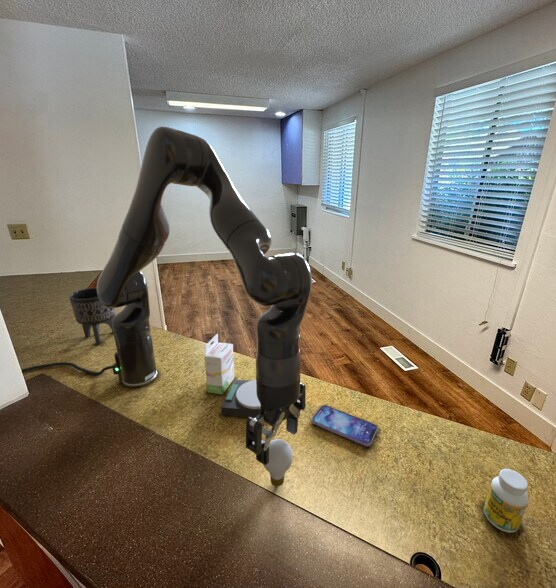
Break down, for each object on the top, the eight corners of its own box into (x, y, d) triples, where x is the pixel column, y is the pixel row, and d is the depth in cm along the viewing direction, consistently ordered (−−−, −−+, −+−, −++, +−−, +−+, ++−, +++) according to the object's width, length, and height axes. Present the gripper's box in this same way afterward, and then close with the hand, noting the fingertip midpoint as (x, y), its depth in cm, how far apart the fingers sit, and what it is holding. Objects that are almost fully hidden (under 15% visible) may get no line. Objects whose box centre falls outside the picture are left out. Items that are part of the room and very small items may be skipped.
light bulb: (296, 475, 62) (297, 437, 58) (285, 502, 57) (286, 461, 53) (269, 466, 64) (269, 428, 60) (257, 491, 58) (256, 451, 55)
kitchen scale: (221, 415, 77) (220, 404, 76) (234, 386, 89) (234, 376, 88) (275, 420, 76) (275, 409, 75) (282, 390, 87) (282, 380, 86)
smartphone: (322, 403, 81) (378, 425, 74) (322, 406, 81) (378, 428, 74) (310, 420, 75) (369, 445, 68) (310, 423, 75) (369, 448, 68)
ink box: (223, 395, 84) (220, 348, 80) (206, 392, 85) (202, 346, 80) (235, 377, 93) (233, 334, 88) (220, 375, 93) (217, 332, 88)
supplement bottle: (523, 522, 54) (538, 482, 51) (510, 540, 51) (526, 500, 48) (490, 498, 58) (503, 460, 55) (477, 513, 55) (490, 475, 52)
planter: (110, 326, 122) (102, 285, 116) (126, 336, 115) (118, 292, 109) (73, 338, 113) (62, 293, 107) (89, 349, 106) (78, 302, 100)
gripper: (286, 348, 59) (285, 415, 64) (231, 384, 48) (236, 461, 53) (319, 360, 55) (315, 431, 60) (267, 403, 44) (268, 485, 49)
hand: (278, 445), depth 57 cm, fingers open, 8 cm apart
